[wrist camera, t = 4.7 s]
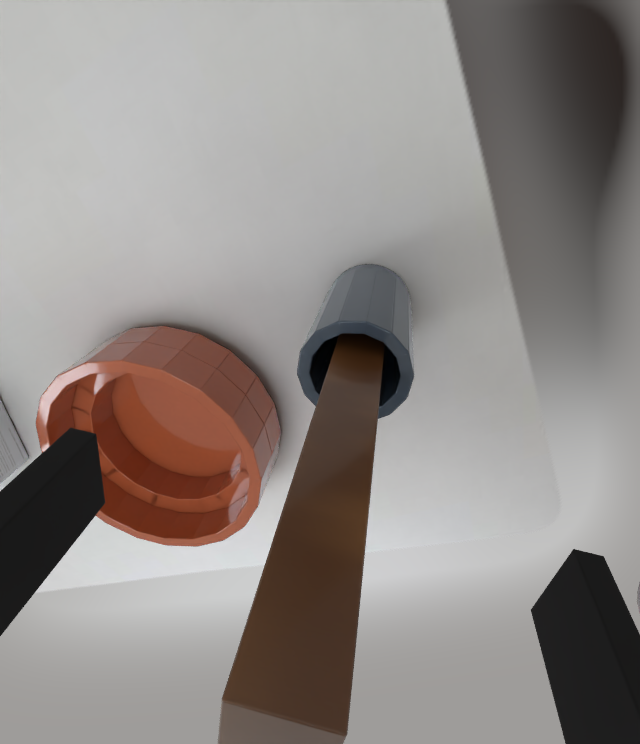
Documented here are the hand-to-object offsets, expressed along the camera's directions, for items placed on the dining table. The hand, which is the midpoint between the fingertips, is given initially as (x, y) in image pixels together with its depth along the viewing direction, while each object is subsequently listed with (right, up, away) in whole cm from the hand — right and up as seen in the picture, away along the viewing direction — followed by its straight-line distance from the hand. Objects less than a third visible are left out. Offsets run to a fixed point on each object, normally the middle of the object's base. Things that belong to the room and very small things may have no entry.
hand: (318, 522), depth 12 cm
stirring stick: (+3, +8, +15) cm, 17 cm away
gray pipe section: (+3, +8, +15) cm, 18 cm away
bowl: (-10, +1, +22) cm, 25 cm away
